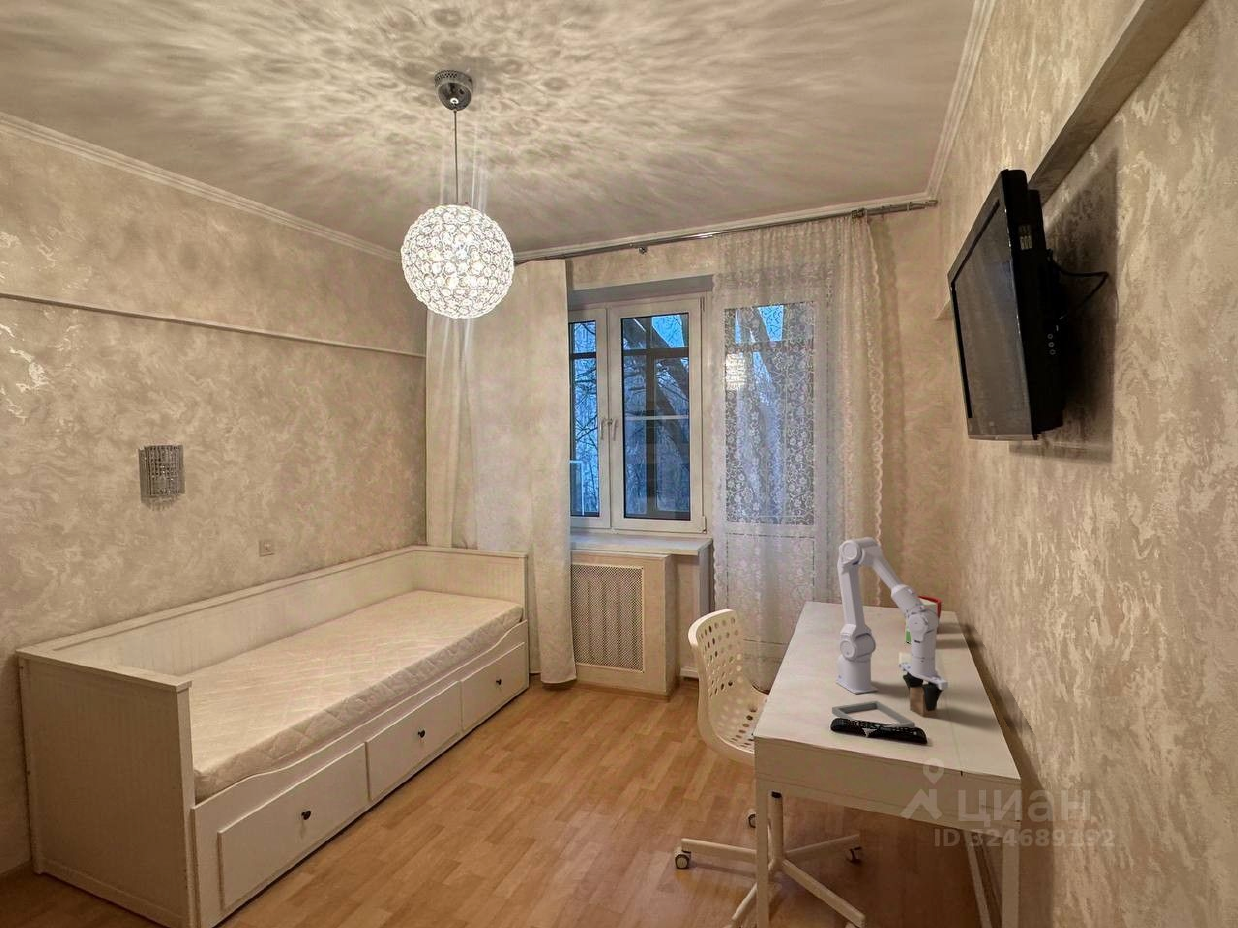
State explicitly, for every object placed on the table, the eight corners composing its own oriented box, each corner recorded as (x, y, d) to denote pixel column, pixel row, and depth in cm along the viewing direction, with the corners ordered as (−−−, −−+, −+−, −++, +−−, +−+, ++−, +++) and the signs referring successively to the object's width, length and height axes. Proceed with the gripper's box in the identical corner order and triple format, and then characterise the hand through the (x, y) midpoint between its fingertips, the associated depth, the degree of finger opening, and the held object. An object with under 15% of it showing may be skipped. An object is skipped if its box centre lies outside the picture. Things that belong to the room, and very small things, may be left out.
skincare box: (904, 642, 215) (904, 599, 214) (918, 639, 217) (918, 597, 216) (924, 649, 207) (923, 604, 206) (938, 647, 209) (938, 602, 209)
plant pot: (945, 636, 220) (944, 603, 220) (905, 633, 224) (905, 601, 224) (937, 625, 233) (937, 595, 233) (900, 623, 237) (900, 593, 237)
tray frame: (832, 712, 160) (832, 707, 160) (876, 705, 163) (876, 700, 163) (866, 737, 146) (866, 731, 146) (914, 728, 150) (914, 722, 150)
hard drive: (927, 667, 188) (926, 654, 199) (899, 663, 191) (898, 651, 202) (927, 672, 188) (926, 659, 199) (899, 668, 191) (898, 656, 202)
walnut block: (910, 709, 161) (910, 687, 160) (924, 707, 162) (923, 685, 162) (922, 717, 156) (922, 694, 156) (937, 714, 157) (936, 692, 157)
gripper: (957, 663, 153) (957, 715, 153) (915, 645, 167) (915, 693, 167) (934, 666, 151) (935, 719, 151) (894, 648, 165) (894, 696, 165)
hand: (923, 706), depth 159 cm, fingers closed on walnut block, 4 cm apart
